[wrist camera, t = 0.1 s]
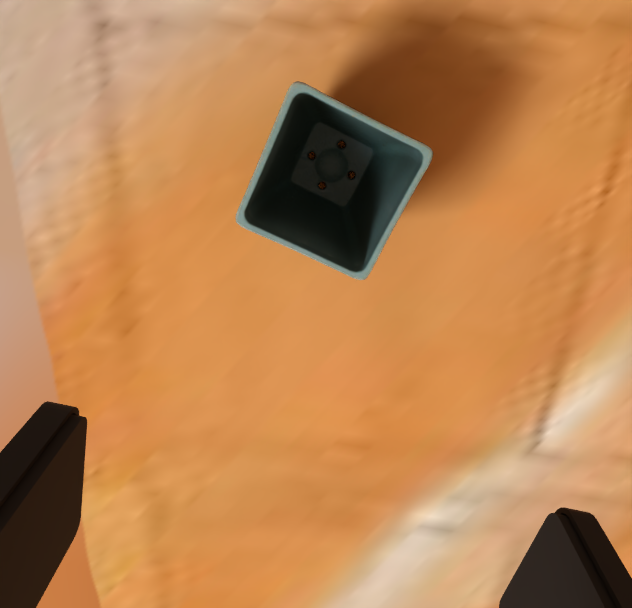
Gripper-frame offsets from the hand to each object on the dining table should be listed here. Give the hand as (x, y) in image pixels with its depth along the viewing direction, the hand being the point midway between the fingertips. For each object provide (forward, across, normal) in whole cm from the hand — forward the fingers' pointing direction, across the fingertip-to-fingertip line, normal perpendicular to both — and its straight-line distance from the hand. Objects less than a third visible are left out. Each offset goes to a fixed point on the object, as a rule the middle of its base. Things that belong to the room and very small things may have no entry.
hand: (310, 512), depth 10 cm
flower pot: (+31, 0, -2) cm, 31 cm away
